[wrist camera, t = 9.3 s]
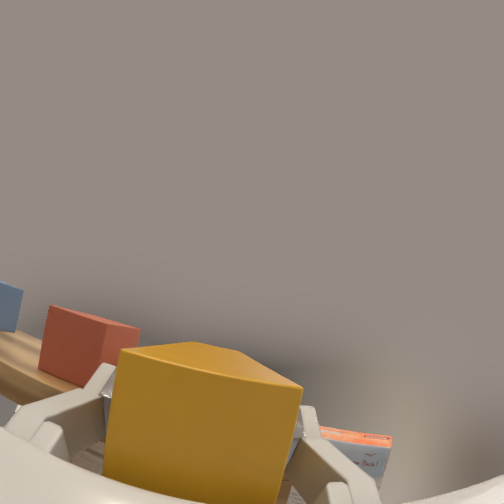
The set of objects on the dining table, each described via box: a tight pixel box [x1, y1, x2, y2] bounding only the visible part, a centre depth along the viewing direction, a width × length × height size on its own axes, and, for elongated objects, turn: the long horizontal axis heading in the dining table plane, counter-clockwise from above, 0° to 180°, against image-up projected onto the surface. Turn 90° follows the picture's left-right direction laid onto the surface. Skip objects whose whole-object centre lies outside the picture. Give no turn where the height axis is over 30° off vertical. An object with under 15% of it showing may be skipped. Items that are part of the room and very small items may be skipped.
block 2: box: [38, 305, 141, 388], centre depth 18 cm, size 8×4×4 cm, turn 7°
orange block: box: [102, 342, 303, 504], centre depth 15 cm, size 20×4×4 cm, turn 7°
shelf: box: [0, 329, 292, 504], centre depth 14 cm, size 12×34×24 cm, turn 97°
